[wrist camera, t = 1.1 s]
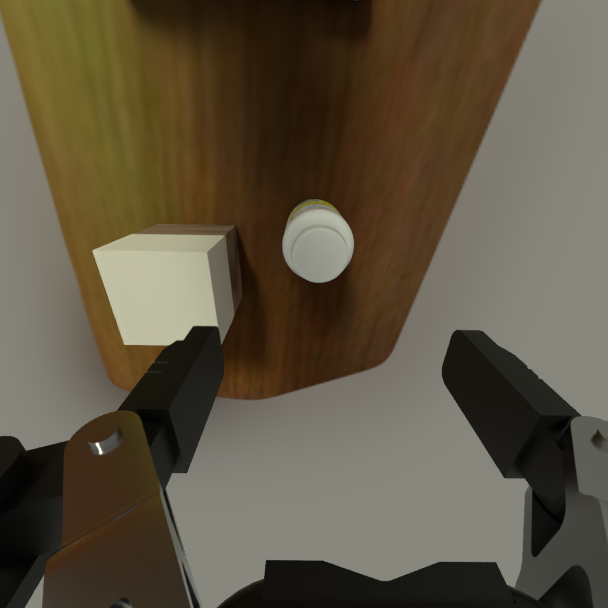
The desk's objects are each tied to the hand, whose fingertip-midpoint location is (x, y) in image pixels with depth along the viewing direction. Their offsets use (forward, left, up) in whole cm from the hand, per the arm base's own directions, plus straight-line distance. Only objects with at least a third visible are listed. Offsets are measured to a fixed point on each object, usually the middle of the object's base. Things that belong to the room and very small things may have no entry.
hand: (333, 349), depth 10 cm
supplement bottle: (0, 0, -21) cm, 21 cm away
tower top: (+4, -12, -16) cm, 20 cm away
